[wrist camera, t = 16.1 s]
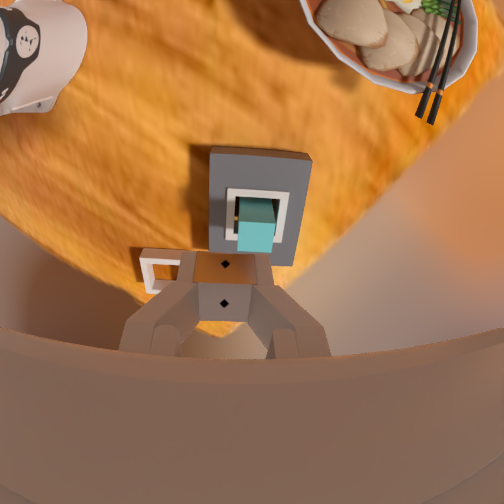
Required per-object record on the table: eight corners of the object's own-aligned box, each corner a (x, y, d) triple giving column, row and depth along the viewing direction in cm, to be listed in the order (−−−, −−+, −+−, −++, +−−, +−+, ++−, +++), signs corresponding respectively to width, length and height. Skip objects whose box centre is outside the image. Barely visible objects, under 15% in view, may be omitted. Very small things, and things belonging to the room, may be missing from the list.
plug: (238, 216, 40) (237, 250, 34) (240, 190, 38) (239, 221, 31) (266, 218, 40) (271, 252, 34) (270, 192, 38) (275, 223, 32)
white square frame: (150, 283, 47) (146, 293, 45) (143, 247, 43) (139, 257, 41) (192, 286, 48) (190, 296, 46) (189, 250, 43) (187, 260, 41)
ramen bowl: (309, -89, 13) (323, -116, 6) (457, -12, 17) (493, -16, 10) (256, 56, 27) (260, 53, 21) (417, 120, 31) (452, 138, 25)
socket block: (210, 250, 43) (208, 263, 41) (212, 146, 34) (209, 154, 31) (289, 253, 44) (292, 267, 42) (307, 153, 35) (313, 161, 32)
